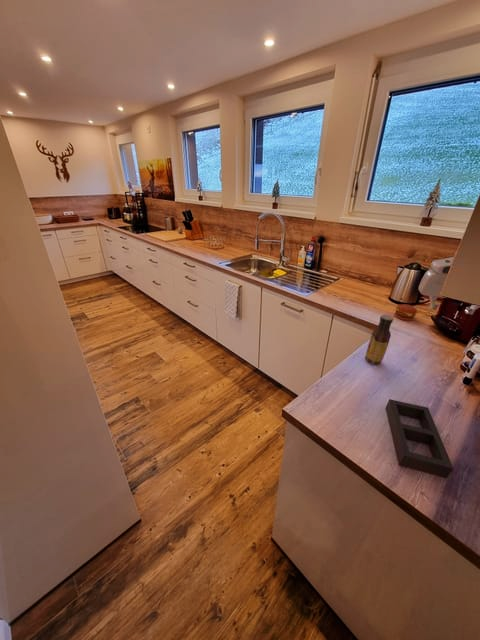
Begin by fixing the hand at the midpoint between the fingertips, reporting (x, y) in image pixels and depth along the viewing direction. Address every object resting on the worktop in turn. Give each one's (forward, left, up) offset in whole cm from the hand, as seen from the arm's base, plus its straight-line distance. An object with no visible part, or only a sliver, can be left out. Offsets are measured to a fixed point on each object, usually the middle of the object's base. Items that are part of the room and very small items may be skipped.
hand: (450, 311), depth 80 cm
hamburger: (-7, -55, -29) cm, 62 cm away
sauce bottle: (+14, -8, -29) cm, 33 cm away
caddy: (+8, +27, -29) cm, 40 cm away
